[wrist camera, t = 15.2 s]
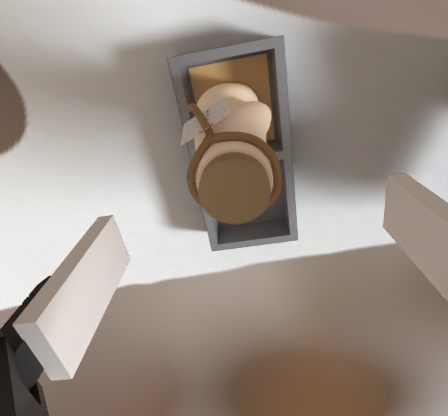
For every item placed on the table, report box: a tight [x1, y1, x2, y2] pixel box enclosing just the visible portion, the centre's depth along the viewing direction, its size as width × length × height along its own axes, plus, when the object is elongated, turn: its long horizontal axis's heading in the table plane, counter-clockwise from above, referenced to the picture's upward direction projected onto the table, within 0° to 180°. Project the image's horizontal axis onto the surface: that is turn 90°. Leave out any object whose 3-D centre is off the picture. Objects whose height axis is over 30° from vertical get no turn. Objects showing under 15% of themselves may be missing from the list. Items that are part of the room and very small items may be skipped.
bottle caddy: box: [167, 35, 298, 251], centre depth 46 cm, size 14×30×6 cm, turn 10°
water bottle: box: [180, 83, 282, 224], centre depth 32 cm, size 10×9×28 cm
